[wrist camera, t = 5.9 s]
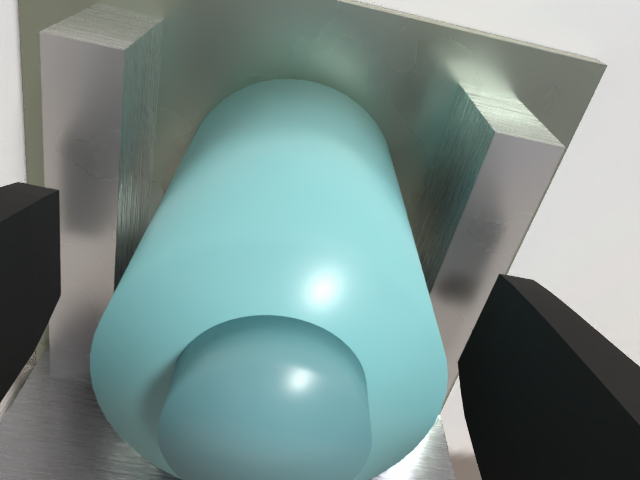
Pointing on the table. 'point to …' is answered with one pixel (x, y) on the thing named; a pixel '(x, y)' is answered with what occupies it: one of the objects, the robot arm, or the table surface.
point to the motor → (186, 117)
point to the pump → (275, 302)
